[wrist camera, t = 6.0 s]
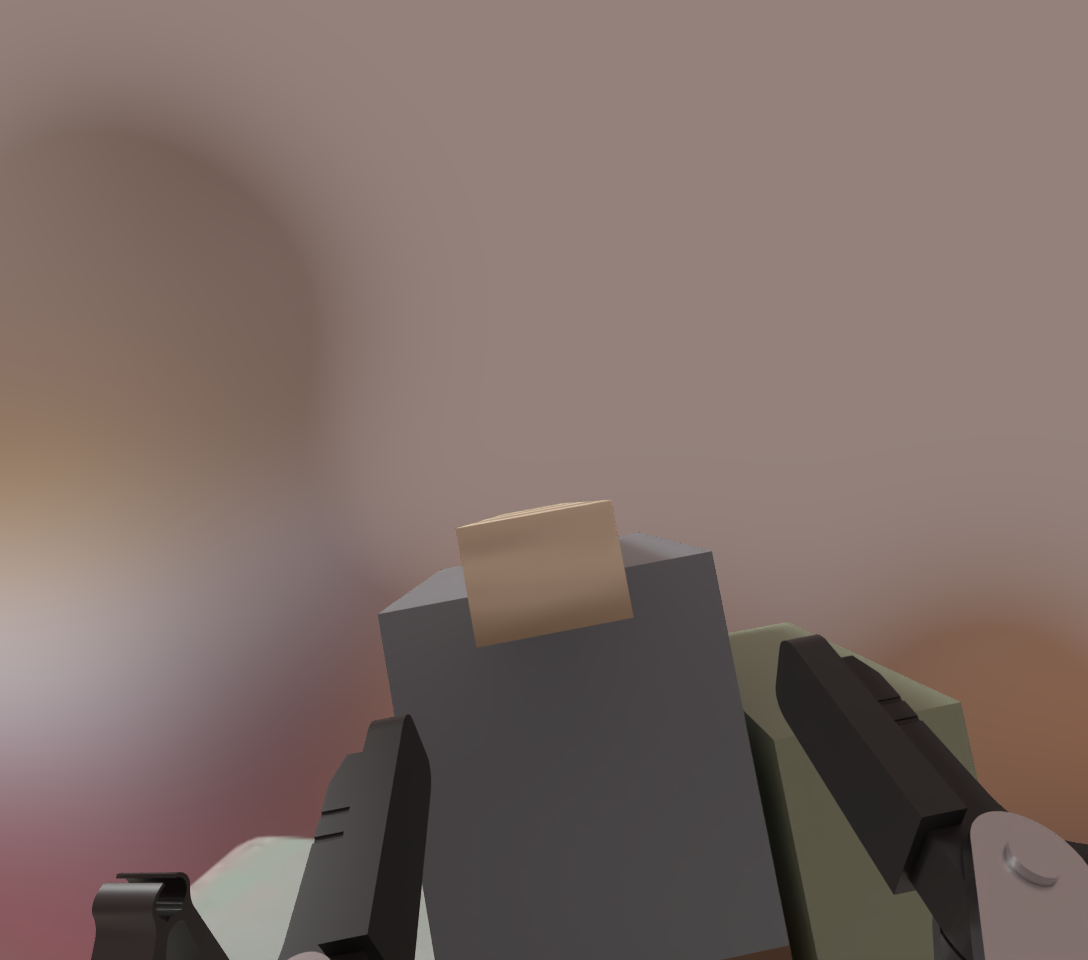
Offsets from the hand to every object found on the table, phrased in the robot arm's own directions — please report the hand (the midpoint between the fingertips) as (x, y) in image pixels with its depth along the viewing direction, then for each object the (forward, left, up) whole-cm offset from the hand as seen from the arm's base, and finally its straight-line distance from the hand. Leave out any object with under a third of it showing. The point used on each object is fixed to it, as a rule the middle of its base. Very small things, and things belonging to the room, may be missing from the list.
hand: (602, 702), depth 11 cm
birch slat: (+6, +10, +1) cm, 12 cm away
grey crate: (+9, +14, -15) cm, 22 cm away
